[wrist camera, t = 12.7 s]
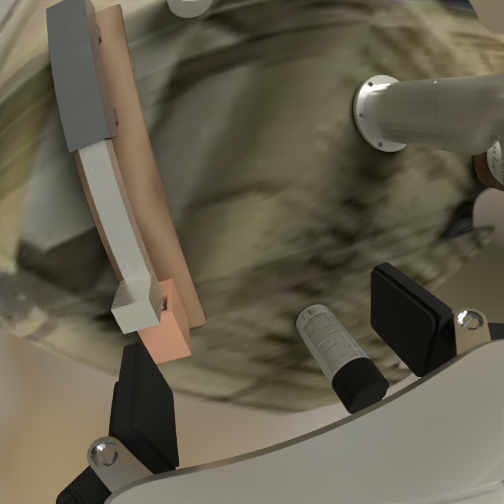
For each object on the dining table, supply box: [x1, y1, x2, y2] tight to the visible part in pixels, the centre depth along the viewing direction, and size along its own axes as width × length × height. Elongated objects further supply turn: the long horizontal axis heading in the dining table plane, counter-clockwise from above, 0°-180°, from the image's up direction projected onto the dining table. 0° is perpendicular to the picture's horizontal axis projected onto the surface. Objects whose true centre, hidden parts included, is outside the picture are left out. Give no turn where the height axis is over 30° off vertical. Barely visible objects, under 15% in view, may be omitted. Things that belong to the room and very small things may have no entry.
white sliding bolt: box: [78, 138, 167, 334], centre depth 28 cm, size 4×27×9 cm, turn 12°
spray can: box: [296, 304, 389, 414], centre depth 42 cm, size 7×7×20 cm
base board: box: [73, 4, 208, 329], centre depth 34 cm, size 10×48×2 cm, turn 12°
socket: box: [137, 278, 192, 364], centre depth 37 cm, size 5×7×8 cm
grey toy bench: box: [46, 0, 119, 153], centre depth 24 cm, size 5×18×8 cm, turn 12°
